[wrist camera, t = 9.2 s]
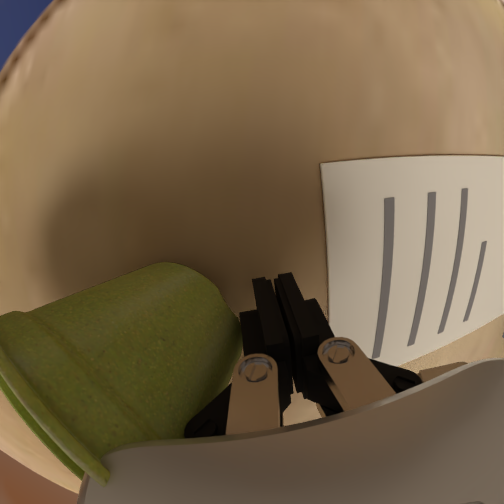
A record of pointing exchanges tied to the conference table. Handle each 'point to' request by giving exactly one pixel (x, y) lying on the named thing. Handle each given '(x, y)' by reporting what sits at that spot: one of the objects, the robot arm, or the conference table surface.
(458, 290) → the letter
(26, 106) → the conference table surface
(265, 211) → the conference table surface
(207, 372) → the plant pot
